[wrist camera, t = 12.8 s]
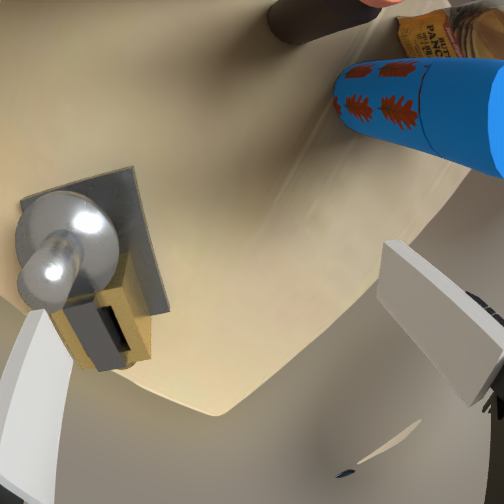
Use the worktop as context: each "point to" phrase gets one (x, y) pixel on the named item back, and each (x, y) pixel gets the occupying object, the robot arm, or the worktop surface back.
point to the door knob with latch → (92, 258)
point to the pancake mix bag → (456, 31)
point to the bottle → (320, 17)
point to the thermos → (430, 107)
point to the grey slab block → (97, 332)
